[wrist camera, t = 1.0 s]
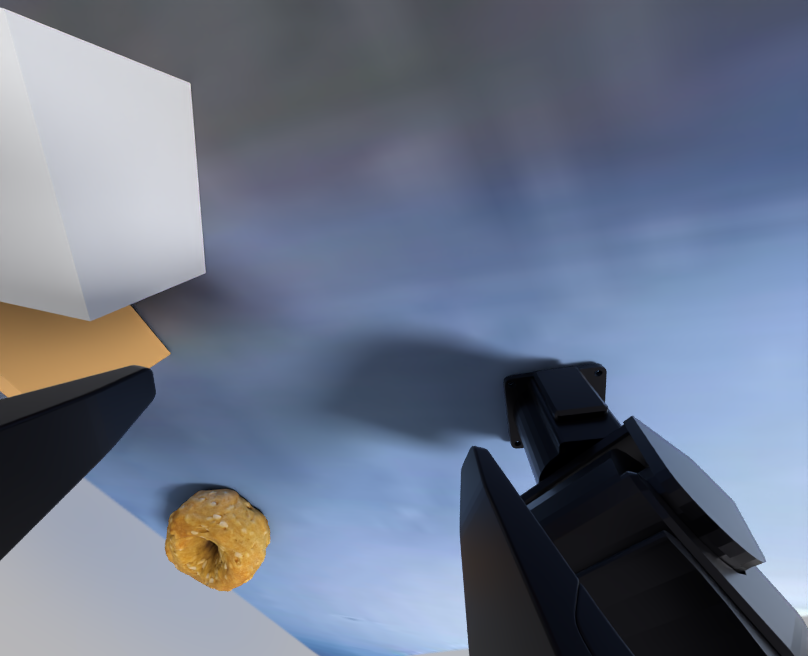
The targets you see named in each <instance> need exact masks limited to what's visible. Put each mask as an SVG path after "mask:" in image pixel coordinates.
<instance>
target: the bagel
mask: <svg viewBox="0 0 808 656" xmlns="http://www.w3.org/2000/svg"><path fill="white" fill-rule="evenodd" d="M269 543H270V528H269V525H268V521H267V519H266V517H265V516H264V515H263V514H262V513H260V512H259V511H258V510H257V509H254V508H253V507H252V506H251V505H250V503H249V502H247V501H246V500H245V499H244V498H242V497H240V496H239V494H238V493H237V492H236V491H234V490H230V489H217V490H206V491H204V490H201V491H198V492H197V493H195V494H194V495H193V496H191V497H190V498H189V499H188V500H187V501H186V502H185V503H183V504H182V505H181V506H180V507H179V509H177V510H176V511H174V512H173V513H172V514H171V515H170V518H169V525H168V527H167V539H166V541H165V551H166V554H167V557H168V559H169V561H170V562H172V563H173V564H174V565H175V567H176V568H177V569H178V570H180V571H181V572H183V573H185V574H187V575H190V576H191V577H193V578H194V579H196V580H197V581H199V582H201V583H203V584H204V585H206V586H208V587H210V588H212V589H214V588H215V589H216V590H218V591H231V590H232V589H233V588H236V587H238V586H241V585H242V584H243V583H246V582H247V581H249V580H250V579H252V577H253V575H254V573H255V572H256V571H257V569H258V568H259V567H260V565H261V564H262V562H263V561H264V558H265V555H266V548H267V546H268V544H269Z"/></svg>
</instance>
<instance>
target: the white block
mask: <svg viewBox="0 0 808 656" xmlns="http://www.w3.org/2000/svg"><path fill="white" fill-rule="evenodd" d="M205 273H206V270H205V257H204V245H203V233H202V221H201V208H200V196H199V184H198V171H197V159H196V147H195V135H194V122H193V110H192V98H191V85H190V83H188V82H186V81H183V80H181V79H178V78H176V77H173V76H171V75H168V74H166V73H163V72H161V71H158V70H156V69H153V68H151V67H148V66H146V65H143V64H141V63H138V62H136V61H133V60H131V59H128V58H126V57H123V56H121V55H118V54H116V53H113V52H111V51H108V50H106V49H103V48H101V47H98V46H96V45H93V44H91V43H88V42H86V41H83V40H81V39H78V38H76V37H73V36H71V35H68V34H66V33H63V32H61V31H58V30H56V29H53V28H51V27H48V26H46V25H43V24H41V23H38V22H36V21H33V20H31V19H28V18H26V17H24V16H21V15H19V14H16V13H14V12H11V11H9V10H6V9H3V8H0V302H5V303H9V304H14V305H18V306H23V307H27V308H32V309H37V310H41V311H46V312H50V313H55V314H59V315H64V316H68V317H73V318H78V319H82V320H87V321H92V320H95V319H97V318H100V317H102V316H104V315H107V314H109V313H112V312H114V311H116V310H119V309H121V308H123V307H126V306H128V305H131V304H133V303H135V302H138V301H140V300H143V299H145V298H147V297H150V296H152V295H155V294H157V293H159V292H162V291H164V290H167V289H169V288H171V287H174V286H176V285H179V284H181V283H183V282H186V281H188V280H190V279H193V278H195V277H198V276H200V275H202V274H205Z"/></svg>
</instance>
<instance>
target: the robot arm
mask: <svg viewBox="0 0 808 656" xmlns="http://www.w3.org/2000/svg"><path fill="white" fill-rule="evenodd" d="M597 370H599V371H598V372H597V373H595V371H597ZM606 374H607V372H606V369H605V368H604V367H603V366H602V365H601V364H589V365H582V366H575V367H574V366H572V367H565V368H558V369H551V370H544V371H537V372H533V373H525V374H518V375H511V376H507V377H506V378H505V379H504V381H503V385H504V394H505V402H506V411H507V420H508V429H509V437H510V443H511V445H512V447H513V448H524V449H525V452H526V455H527V457H528V460H529V463H530V466H531V469H532V472H533V475H534V477H535V480H536V483H537V485H535V486H534V487H532V488H531V489H529V490H528V491H526V492H525V493H524V494H522V495H521V496H520V495H519V494H518V493H517V491H516V490H515V488H514V487H513V485H512V484H511V483H510V481H509V480H508V478H507V477H506V475H505V474H504V473H503V471H502V470H501V468H500V467H499V466H498V464H497V463H496V461H495V460H494V458H493V457H492V456H491V454H490V453H489V451H488V450H487V449H485V448H481V447H477V446H472V447H471V448H470V450H469V452H468V454H467V457H466V459H465V461H464V463H463V466H462V469H461V491H460V544H461V557H462V569H463V582H464V595H465V607H466V620H467V632H468V645H469V656H808V628H807V626H806V624H805V622H804V621H803V619H802V617H801V616H800V615H799V614H798V612H797V611H796V610H795V609H794V608H793V607H792V605H791V604H790V603H789V602H788V601H787V600H786V599H785V598H784V597H783V595H782V594H781V593H780V592H779V591H778V590H777V589H776V588H775V587H774V586H773V584H772V583H771V582H770V581H769V580H768V579H767V578H766V577H765V576H764V574H763V573H762V572H761V571H760V570H759V569H758V568H757V567H756V566H757V565H759V564H762V563H764V562H766V560H765V557H764V555H763V554H762V552H761V550H760V548H759V546H758V544H757V543H756V541H755V539H754V537H753V535H752V533H751V532H750V530H749V528H748V526H747V524H746V522H745V521H744V519H743V517H742V515H741V513H740V511H739V510H738V508H737V506H736V504H735V502H734V501H733V500H732V499H731V498H730V497H729V496H728V495H727V494H726V493H725V492H724V491H723V490H722V489H721V488H720V487H719V486H718V485H717V484H716V483H715V482H714V481H713V480H712V479H711V478H710V477H709V476H708V475H707V474H706V473H705V472H704V471H703V470H702V469H701V468H700V467H699V466H698V465H697V464H696V463H695V462H694V461H693V460H692V459H691V458H689V457H688V456H687V455H685V454H684V453H683V452H681V451H680V450H679V449H677V448H676V447H675V446H673V445H672V444H670V443H669V442H668V441H666V440H665V439H664V438H662V437H661V436H660V435H658V434H657V433H656V432H654V431H653V430H651V429H650V428H649V427H647V426H646V425H645V424H643V423H642V422H641V421H639V420H638V419H636V418H635V417H634V416H631V417H630V418H628V419H627V420H626V421H624V422H623V423H624V425H621V424H620V423H619V422H618V420H617V419H616V418H615V416H614V415H613V414H612V413H611V411H610V410H609V409H608V406H607V405H606V404H605V392H606ZM510 382H514V383H513V384H511V385H510V384H509V383H510ZM155 394H156V389H155V383H154V377H153V372H152V370H151V369H149V368H147V367H142V366H138V365H130V366H127V367H123V368H119V369H115V370H111V371H107V372H104V373H100V374H96V375H92V376H88V377H85V378H81V379H77V380H73V381H69V382H65V383H62V384H58V385H54V386H50V387H46V388H43V389H39V390H35V391H31V392H27V393H23V394H20V395H16V396H12V397H8V398H4V399H1V400H0V560H1V559H2V558H3V557H4V556H5V555H6V554H7V553H8V552H9V551H10V550H11V549H12V548H13V547H14V546H15V545H16V544H17V543H18V542H19V541H20V540H21V539H22V538H23V537H24V536H25V535H26V534H27V533H28V532H29V531H30V530H31V529H32V528H33V527H34V526H35V525H36V524H37V523H38V522H39V521H40V520H42V519H43V517H45V516H46V514H48V513H49V512H50V511H51V509H53V508H54V507H55V505H57V504H58V503H59V501H60V500H61V499H62V498H64V496H65V495H66V494H68V493H69V492H70V490H72V489H73V488H74V487H75V486H76V484H78V483H79V482H80V481H81V480H82V478H84V477H85V476H86V475H87V474H88V473H89V472H90V471H91V470H92V469H93V468H94V467H95V466H96V465H97V464H98V463H99V462H100V461H101V460H102V459H103V458H104V457H105V455H106V454H107V453H108V452H109V451H110V450H111V449H112V448H113V447H114V446H115V445H116V443H117V442H118V441H119V440H120V439H121V438H122V436H123V435H124V434H125V433H126V432H127V431H128V429H129V428H130V427H131V426H132V425H133V423H134V422H135V421H136V420H137V419H138V417H139V416H140V415H141V414H142V413H143V411H144V410H145V409H146V408H147V407H148V406H149V404H150V403H151V402H152V401H153V399H154V397H155ZM516 441H519V442H516Z"/></svg>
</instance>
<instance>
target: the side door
mask: <svg viewBox="0 0 808 656" xmlns="http://www.w3.org/2000/svg"><path fill="white" fill-rule="evenodd" d="M170 354H171V353H170V352H169V351H168V350H167V349H166V347H165V346H164V345H163V344H162V343H161V341H160V340H159V339H158V338H157V337H156V335H155V334H154V333H153V332H152V331H151V329H150V328H149V327H148V326H147V325H146V323H145V322H144V321H143V320H142V319H141V317H140V316H139V315H138V314H137V313H136V311H135V310H134V309H133V308H132V307H131V305H128V306H126V307H123V308H121V309H119V310H116V311H114V312H112V313H109V314H107V315H104V316H102V317H100V318H97V319H95V320H92V321H87V320H82V319H78V318H73V317H68V316H64V315H59V314H55V313H50V312H46V311H41V310H37V309H32V308H27V307H23V306H18V305H14V304H9V303H5V302H0V391H1V392H2V393H3V394H5V395H6V396H7V397H12V396H16V395H20V394H23V393H27V392H31V391H35V390H39V389H43V388H46V387H50V386H54V385H58V384H62V383H65V382H69V381H73V380H77V379H81V378H85V377H88V376H92V375H96V374H100V373H104V372H107V371H111V370H115V369H119V368H123V367H127V366H130V365H138V366H142V367H147V368H151V367H152V366H153V365H155V364H156V363H158V362H159V361H161V360H162V359H164V358H165V357H167V356H168V355H170Z"/></svg>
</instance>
